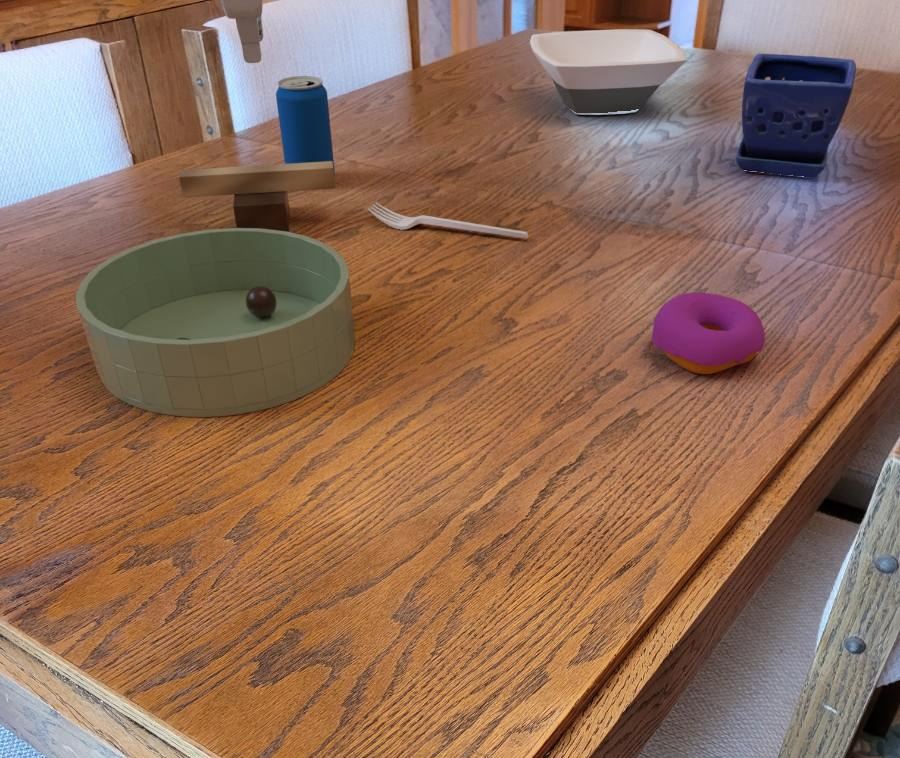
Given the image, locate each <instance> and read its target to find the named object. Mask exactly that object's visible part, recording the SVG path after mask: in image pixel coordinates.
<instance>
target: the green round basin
mask: <svg viewBox="0 0 900 758" xmlns="http://www.w3.org/2000/svg"><path fill="white" fill-rule="evenodd" d="M258 286H263V287H266V288H268V289H270V290H271V291H272V292H273V294H274V295H275V297H276V309H275V311H274V312H273V313H272V314H271V315H270V316H268V317H265V318H259V317H256V316H254V315H253V314H251V313H250V311H249V310H248V308H247V306H246V297H247V294H248V292H249V291H250V290H251V289H253V288H254V287H258ZM351 290H352V289H351V279H350V271H349V264H348V263H347V261H346V260H345V259H344V257H343V256H342V254H341V253H340V252H339V251H337V250H336V249H334V248H333V247H332V246H330V245H328V244H326V243H325V242H322V241H321V240H317V239H315V238H312V237H311V236H307V235H303V234H299V233H296V232H291V231H290V232H286V231H278V230H269V229H259V228H237V227H229V228H213V229H204V230H197V231H191V232H184V233H178V234H174V235H170V236H166V237H165V236H164V237H161V238H157V239H153V240H150V241H147V242H143V243H142V244H139V245H135V246H132V247H130V248H127V249H126V250H123V251H121V252H119V253H117V254H115V255H113V256H111V257H109V258H107V259H106V260H104V261H103V262H101V263H100V264H98V265H97V266H96V267H95V268H93V269H92V270H91V271H90V272H89V273H88V274H87V275H86V276H85V278H83V279H82V280H81V282H80V283H79V286H78V288H77V292H76V294H75V303H76V308H77V309H76V310H77V313H78V316H79V319H80V322H81V325H82V329H83V331H84V335H85V339H86V341H87V345H88V346H89V351H90V353H91V357H92V360H93V364H94V367H95V370H96V373H97V374H98V376H99V379H100V381H101V383H102V385H103V386H104V387H105V388H106V390H107V391H108V392H109V393H111V394H112V395H113V396H114V397H115V398H117V399H119V400H120V401H122V402H124V403H125V404H128V405H130V406H132V407H134V408H137V409H141V410H144V411H147V412H151V413H156V414H160V415H161V414H162V415H166V416H175V417H185V418H187V417H188V418H215V417H216V418H217V417H228V416H235V415H236V416H237V415H243V414H249V413H250V414H251V413H254V412H255V413H256V412H259V411H263V410H267V409H271V408H275V407H278V406H281V405H284V404H287V403H290V402H294V401H296V400H298V399H301V398H303V397H305V396H307V395H309V394H311V393H313V392H315V391H317V390H318V389H321V388H322V387H324V386H325V385H326V384H329V382H331V381H333V379H335V378H336V377H337V376H338V375H339V374H341V372H342V371H343V370H344V369H345V368H346V367H347V365H349V362H350V360H351V359H352V358H353V355H354V351H355V349H356V334H355V323H354V312H353V301H352V291H351ZM178 338H188V339H190V340H179V339H178Z"/></svg>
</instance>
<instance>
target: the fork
mask: <svg viewBox="0 0 900 758" xmlns="http://www.w3.org/2000/svg"><path fill="white" fill-rule="evenodd" d="M371 205H372V206H371ZM371 205H370V206H369V207H367V210H368V211H369V212H370V213H371V214H372V215H373V216H374V217H375V218H376V219H377V220H379V221H380V222H382V223H384V224H385V225H387V226H388V227H390V228H393V229H396V230H399V229H400V230H401V231H403V230H408V229H411V228H413V227H415V226H417V225H419V224H421V225H422V224H424V225H430V226H437V227H438V226H439V227H443V228H452V229H458V230H466V231H472V232H478V233H479V232H480V233H486V234H493V235H501V236H507V237H514V238H521V239H528V238H529V233H528V231H522V230H517V229H509V228H505V227H497V226H493V225H485V224H479V223H473V222H467V221H461V220H456V219H455V220H454V219H450V218H442V217H436V216H430V215H423V214H422V215H418V216H407V215H403V214H400V213H397V212H395V211H393V210H391V209H388V208H387V207H385V206H383V205H382V204H380V203H379V202H377V201H374V203H371Z"/></svg>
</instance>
